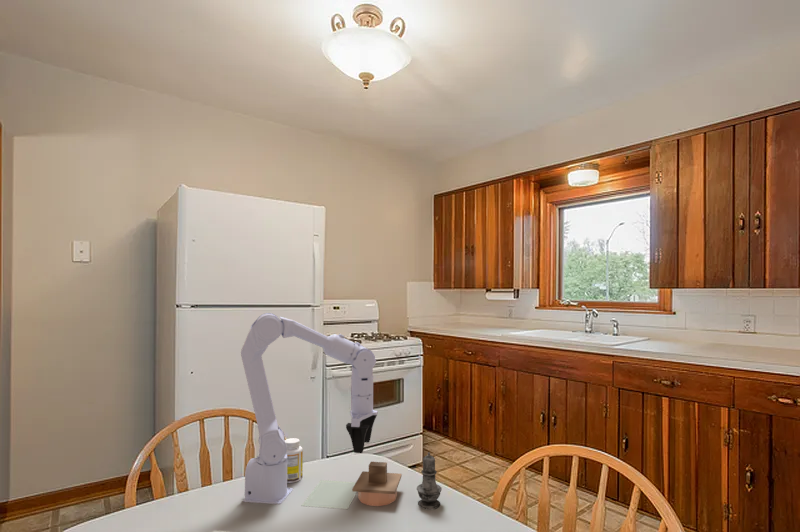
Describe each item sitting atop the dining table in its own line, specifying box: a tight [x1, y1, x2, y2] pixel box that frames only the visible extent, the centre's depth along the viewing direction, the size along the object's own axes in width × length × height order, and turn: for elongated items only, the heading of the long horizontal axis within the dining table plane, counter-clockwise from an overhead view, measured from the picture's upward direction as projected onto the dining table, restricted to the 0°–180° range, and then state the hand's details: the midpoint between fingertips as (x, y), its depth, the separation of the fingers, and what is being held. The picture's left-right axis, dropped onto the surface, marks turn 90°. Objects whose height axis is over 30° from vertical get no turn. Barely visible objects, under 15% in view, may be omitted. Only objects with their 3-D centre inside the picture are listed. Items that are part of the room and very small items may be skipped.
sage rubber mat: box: [301, 479, 358, 510], centre depth 111 cm, size 11×14×1 cm
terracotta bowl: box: [357, 489, 398, 507], centre depth 109 cm, size 9×9×4 cm
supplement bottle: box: [284, 437, 304, 484], centre depth 120 cm, size 6×6×10 cm
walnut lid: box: [352, 461, 403, 494], centre depth 109 cm, size 10×10×5 cm
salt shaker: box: [416, 451, 442, 511], centre depth 106 cm, size 6×6×12 cm
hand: (362, 447), depth 117 cm, fingers open, 7 cm apart
